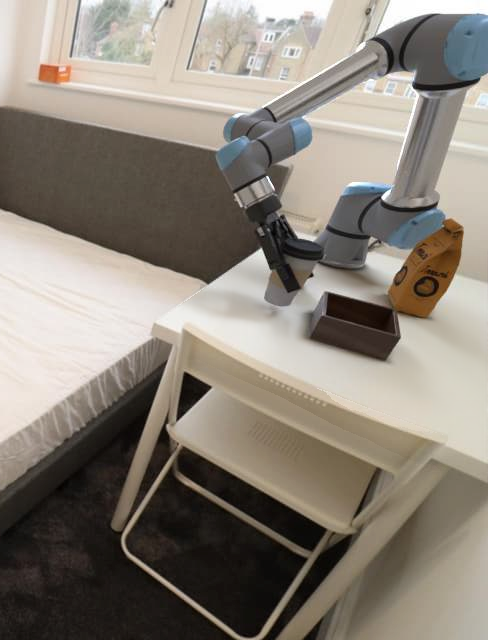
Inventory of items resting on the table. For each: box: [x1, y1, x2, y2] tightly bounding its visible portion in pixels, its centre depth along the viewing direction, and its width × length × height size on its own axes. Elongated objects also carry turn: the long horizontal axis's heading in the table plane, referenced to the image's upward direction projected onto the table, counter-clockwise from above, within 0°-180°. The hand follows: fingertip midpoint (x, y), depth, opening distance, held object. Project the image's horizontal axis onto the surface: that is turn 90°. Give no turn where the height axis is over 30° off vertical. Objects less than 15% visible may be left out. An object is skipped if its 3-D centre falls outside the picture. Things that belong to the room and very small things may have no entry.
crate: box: [309, 290, 402, 362], centre depth 116 cm, size 16×15×6 cm
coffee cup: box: [263, 237, 324, 308], centre depth 121 cm, size 9×9×15 cm
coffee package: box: [386, 217, 465, 319], centre depth 126 cm, size 10×12×22 cm
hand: (301, 284), depth 120 cm, fingers closed on coffee cup, 9 cm apart
